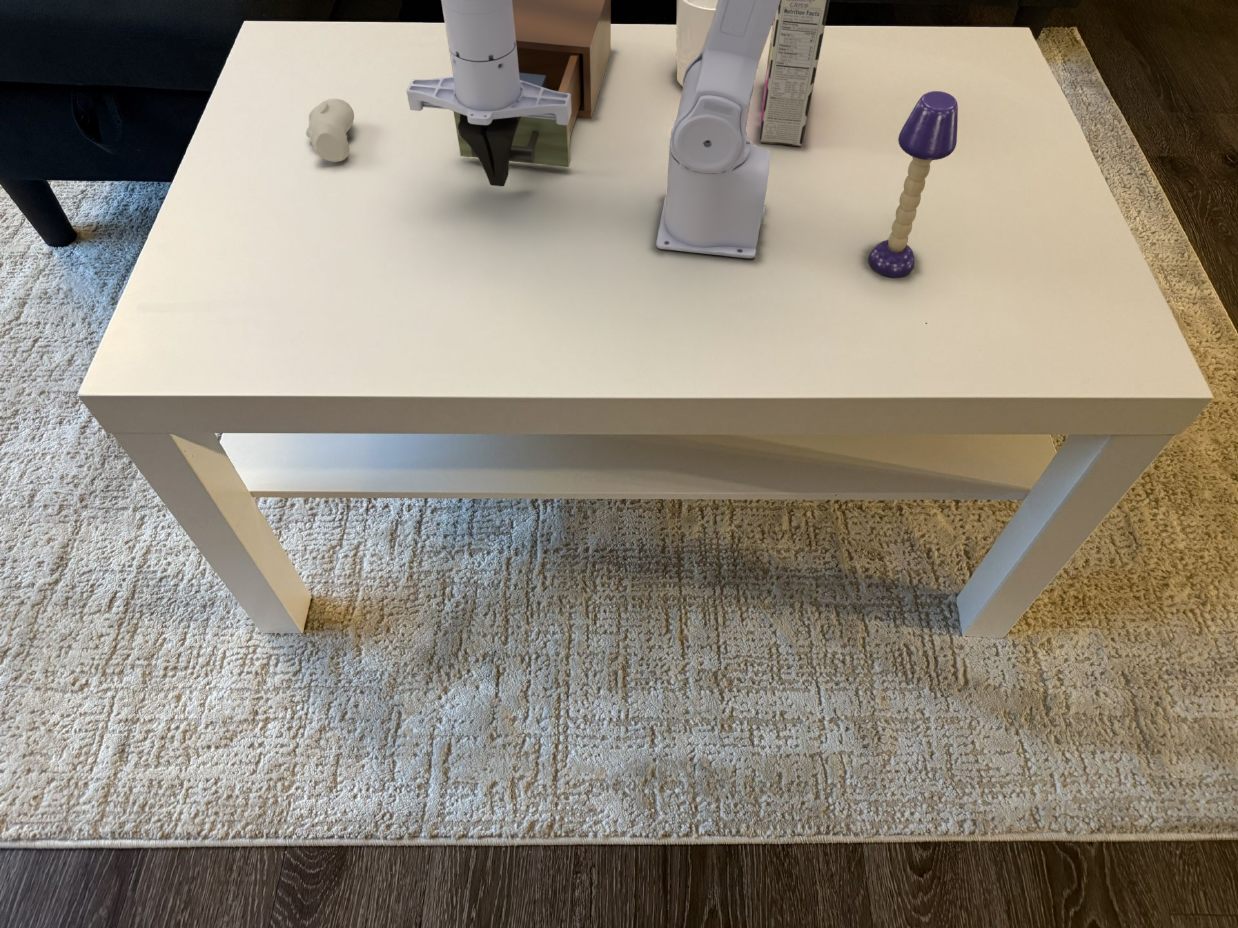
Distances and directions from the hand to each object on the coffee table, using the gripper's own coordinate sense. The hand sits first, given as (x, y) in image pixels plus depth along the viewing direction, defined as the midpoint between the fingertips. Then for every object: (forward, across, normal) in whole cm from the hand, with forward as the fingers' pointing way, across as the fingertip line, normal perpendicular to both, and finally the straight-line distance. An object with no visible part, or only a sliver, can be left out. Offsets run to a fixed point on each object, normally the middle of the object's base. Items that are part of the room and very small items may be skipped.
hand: (499, 179), depth 84 cm
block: (+1, 0, +12) cm, 12 cm away
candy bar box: (+3, +27, +20) cm, 34 cm away
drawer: (+2, 0, +10) cm, 10 cm away
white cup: (+3, +18, +26) cm, 32 cm away
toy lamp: (+3, +38, -2) cm, 38 cm away
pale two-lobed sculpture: (+3, -20, +7) cm, 21 cm away
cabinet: (+3, 0, +23) cm, 23 cm away
